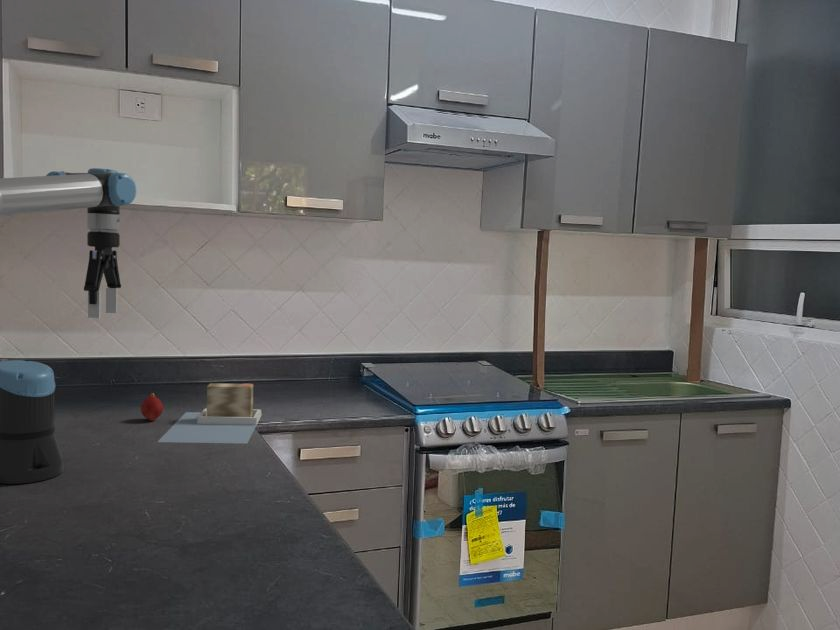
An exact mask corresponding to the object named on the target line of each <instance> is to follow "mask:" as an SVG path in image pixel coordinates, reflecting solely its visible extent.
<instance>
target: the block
mask: <svg viewBox="0 0 840 630" xmlns="http://www.w3.org/2000/svg"><path fill="white" fill-rule="evenodd" d="M206 408H207V416H215V417H253V409H254V384H253V383H221V382H220V383H218V382H217V383H216V382H215V383H211V382H210V383H209V384H208V385H207V386H206Z"/></svg>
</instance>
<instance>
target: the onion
mask: <svg viewBox="0 0 840 630" xmlns="http://www.w3.org/2000/svg"><path fill="white" fill-rule="evenodd" d="M163 410H164V405H163V403H162V400H161V399H160V398H158V397H157V396H155V393H154V392H153V393H152V392H151V393H150V395H148V396H147V397H146V398H145V399H144V400H143V402H142V403H141V406H140V411H141V415H142V416H143V417H144V418H145V419H147V420H148V421H150V422H155V421H156V420H157V419H158V418H159V417H160V416H161V414H162V413H163Z"/></svg>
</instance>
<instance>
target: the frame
mask: <svg viewBox="0 0 840 630" xmlns="http://www.w3.org/2000/svg"><path fill="white" fill-rule="evenodd" d="M261 414H262V409H255V408H253V417H215V416H207V407H205V408H203V410H202V411H201V413H200V415H199V416H198V417H197V424H216V425H256V426H257V425H258V423H259V421H260V419H261V418H262V416H261ZM260 417H261V418H260Z"/></svg>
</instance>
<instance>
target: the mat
mask: <svg viewBox="0 0 840 630" xmlns="http://www.w3.org/2000/svg"><path fill="white" fill-rule="evenodd" d="M201 412H202V411H201ZM201 412H199V411H198V412H194V411H193V412H190V411H186V412H185V413H183V414H182V416H181V417H180V418H179V419H178V420H177V421H176V422H175V423H174V424H173V425H172V426H171V427H170V428H169V429H168V430H167V431H166V432H165V433H164V434H163V435H162V436H161V437H160V438H159V440H158V441H157V443H167V444H168V443H173V444H174V443H176V444H177V443H180V444H181V443H182V444H183V443H184V444H185V443H187V444H241V445H242V444H248V442H249V441H250V439H251V437H252V435H253V433H254V431H255V429H256V427H257V425H216V424H197V417H198V416H199V415H200V413H201ZM262 416H263V413H261V417H260V419H261V418H262Z"/></svg>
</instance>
